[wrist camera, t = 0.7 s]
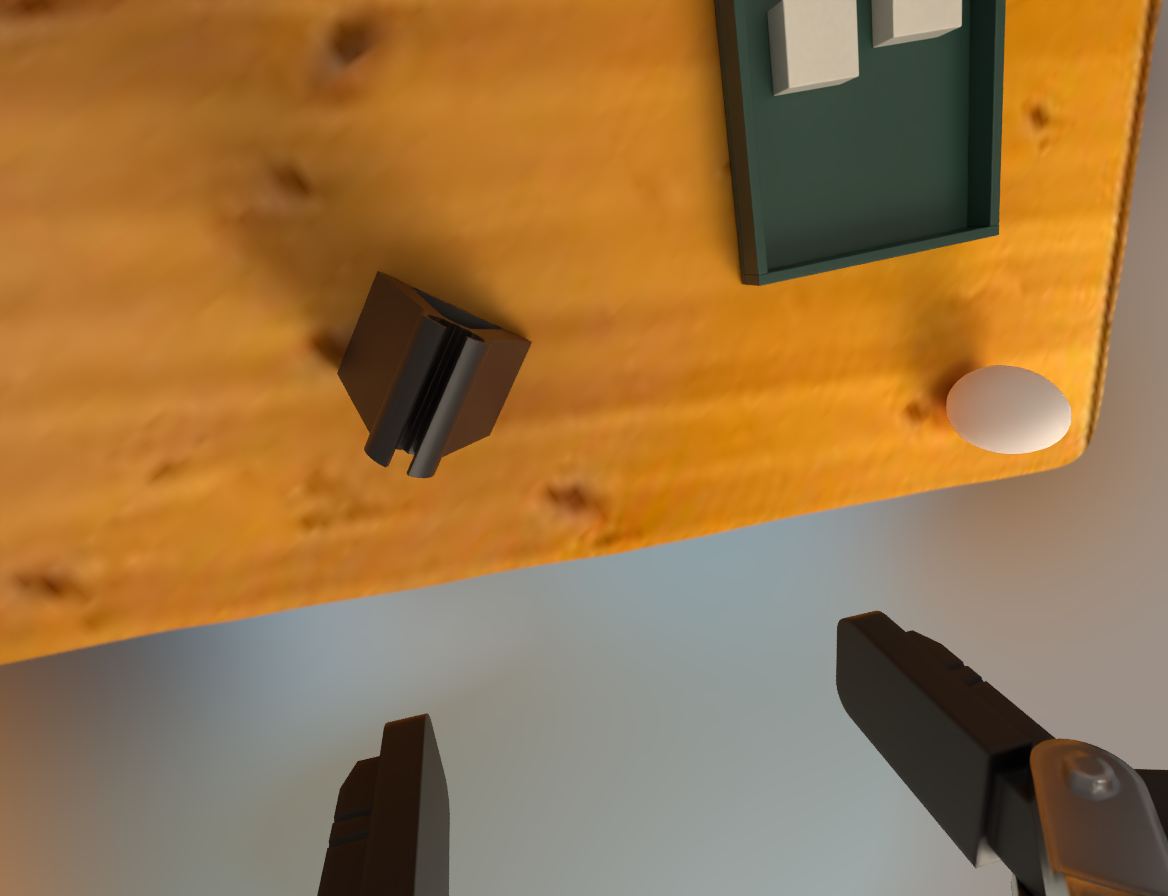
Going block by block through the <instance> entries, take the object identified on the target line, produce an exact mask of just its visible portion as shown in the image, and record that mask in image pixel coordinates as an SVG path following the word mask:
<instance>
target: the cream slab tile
mask: <svg viewBox="0 0 1168 896" xmlns="http://www.w3.org/2000/svg"><path fill="white" fill-rule="evenodd" d="M871 2H872V36H873V48H876V47H882V46H888V45H894V44H900V43H906V42H912V41H918V40H924V39H930V38H936V37H939V36H941V35H944V34H946V33H948V32H950V31H952V30H954V29H957V28H959V27H961V26H962V0H871Z"/></svg>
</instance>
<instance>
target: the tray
mask: <svg viewBox="0 0 1168 896" xmlns="http://www.w3.org/2000/svg"><path fill="white" fill-rule="evenodd" d="M714 1H715V11H716V21H717V32H718V42H719V52H720V62H721V72H722V82H723V92H724V102H725V113H726V123H727V133H728V143H729V153H730V163H731V173H732V183H733V194H734V204H735V214H736V224H737V234H738V244H739V254H740V264H741V275H742V284H747V285H757V286H761V285H766V284H771V283H775V282H780V281H785V280H789V279H794V278H799V277H803V276H808V275H813V274H818V273H822V272H827V271H832V270H836V269H841V268H846V267H850V266H855V265H860V264H865V263H869V262H874V261H879V260H883V259H888V258H893V257H897V256H902V255H907V254H911V253H916V252H921V251H926V250H930V249H935V248H940V247H944V246H949V245H954V244H958V243H963V242H968V241H973V240H977V239H982V238H987V237H991V236H996V235H999V225H998V224H999V206H1000V172H1001V138H1002V105H1003V71H1004V37H1005V3H1006V0H962V26H961V27H959V28H957V29H954V30H952V31H950V32H948V33H946V34H944V35H941V36H939V37H936V38H930V39H924V40H918V41H912V42H906V43H900V44H894V45H888V46H882V47H876V48H873V36H872V2H871V0H856V6H857V33H858V61H859V76H858V77H855V78H853V79H851V80H849V81H847V82H844V83H842V84H840V85H834V86H829V87H823V88H817V89H812V90H806V91H800V92H794V93H789V94H783V95H777V96H774V95H773V83H772V69H771V56H770V43H769V30H768V17H767V12H768V11H769V10H770V9H772V8H773V7H774V6H776V5H777V4H778V3H779V2H781V1H782V0H714Z"/></svg>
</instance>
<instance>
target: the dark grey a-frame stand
mask: <svg viewBox="0 0 1168 896" xmlns="http://www.w3.org/2000/svg"><path fill="white" fill-rule="evenodd" d="M531 343H532V342H531V341H529V340H527V339H525V338H523V337H520V336H518V335H516V334H514V333H512V332H510V331H507V330H505V329H503V328H501V327H499V326H497V325H494V324H492V323H490V322H488V321H486V320H484V319H481V318H479V317H477V316H475V315H473V314H471V313H468V312H466V311H464V310H462V309H459V308H457V307H455V306H453V305H451V304H449V303H447V302H445V301H442V300H440V299H438V298H436V297H434V296H432V295H429V294H427V293H425V292H423V291H421V290H419V289H416V288H414V287H412V286H410V285H408V284H405V283H403V282H401V281H399V280H397V279H395V278H392V277H390V276H388V275H386V274H384V273H381V272H379V271H377V274H376V276H375V279H374V282H373V284H372V287H371V289H370V292H369V294H368V297H367V299H366V302H365V304H364V307H363V309H362V312H361V314H360V317H359V320H358V322H357V325H356V327H355V330H354V332H353V335H352V337H351V340H350V342H349V345H348V347H347V350H346V352H345V355H344V358H343V360H342V363H341V365H340V368H339V370H338V373H337V374H338V376H339V378H340V379H341V381H342V383H343V385H344V387H345V389H346V390H347V392H348V394H349V396H350V398H351V400H352V401H353V403H354V405H355V407H356V409H357V411H358V412H359V414H360V416H361V418H362V420H363V422H364V424H365V425H366V427H367V429H368V431H369V433H370V435H369V438H368V440H367V443H366V445H365V447H364V450H365V452H366V454H367V455H368V456H369V457H370V458H371V459H373V460H374V461H375V462H377V463H379V464H380V465H382V466H384V467H387V466H389V463H390V461H391V459H392V456H393V454H394V452H395V449H397V450H404V451H406V452H407V453H408V454H412V455H414V457H413V459H412V462H411V464H410V466H409V469H408V471H407V474H408V476H412V477H417V478H429V477H432V476H433V475H434V474H435V472H436V469H437V467H438V465H439V462H440V460H441V458H442V457H444V456H446V455H448V454H450V453H452V452H454V451H457V450H459V449H461V448H463V447H465V446H467V445H470V444H472V443H474V442H476V441H478V440H480V439H483V438H485V437H487V436H489V435H490V433H491V431H492V429H493V427H494V424H495V422H496V420H497V418H498V416H499V413H500V411H501V409H502V407H503V405H504V402H505V400H506V398H507V396H508V394H509V391H510V389H511V387H512V385H513V382H514V380H515V378H516V376H517V374H518V371H519V369H520V367H521V365H522V363H523V360H524V358H525V356H526V354H527V352H528V349H529V347H530V345H531Z"/></svg>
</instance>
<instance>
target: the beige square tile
mask: <svg viewBox="0 0 1168 896" xmlns="http://www.w3.org/2000/svg"><path fill="white" fill-rule="evenodd" d="M767 17H768V30H769V43H770V56H771V69H772V83H773V95H774V96H777V95H783V94H789V93H794V92H800V91H806V90H812V89H817V88H823V87H829V86H834V85H840V84H842V83H844V82H847V81H849V80H851V79H853V78H855V77H858V76H859V61H858V33H857V6H856V0H782V1H781V2H779V3H778V4H777V5H776V6H774V7H773V8H772V9H770V10H769V11H768V12H767Z"/></svg>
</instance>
